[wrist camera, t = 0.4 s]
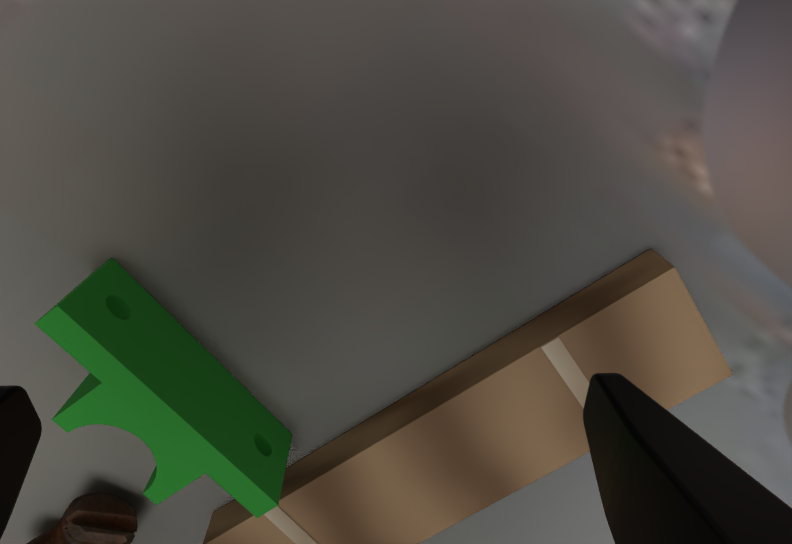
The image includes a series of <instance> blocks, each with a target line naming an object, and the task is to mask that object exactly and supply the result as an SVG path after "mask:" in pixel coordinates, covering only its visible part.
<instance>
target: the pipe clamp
mask: <svg viewBox="0 0 792 544" xmlns="http://www.w3.org/2000/svg"><path fill="white" fill-rule="evenodd" d="M35 325H37V326H38V327H39V328H40V329H41V330H42V331H43V332H45V333H46V334H47V335H48V336H49V337H50V338H51V339H53V340H54V341H55V342H56V343H57V344H58V345H59V346H61V347H62V348H63V349H64V350H65V351H66V352H67V353H69V354H70V355H71V356H72V357H73V358H74V359H75V360H77V361H78V362H79V363H80V364H81V365H82V366H83V367H85V368H86V369H87V370H88V371H89V372H90V374H89V375H88V376H87V377H86V378H85V380H84V381H83V382H82V383H81V385H80V386H79V387H78V388H77V389H76V391H75V392H74V393H73V394H72V396H71V397H70V398H69V399H68V400H67V402H66V403H65V404H64V405H63V407H62V408H61V409H60V410H59V411H58V413H57V414H56V415H55V416H54V418H53V419H52V420H53V421H54V422H55V423H56V424H58V425H59V426H60V427H61V428H63V429H64V430H65V431H66V432H67V433H68V432H70V431H71V430H73V429H75V428H78V427H81V426H85V425H91V424H105V425H111V426H116V427H119V428H122V429H124V430H127V431H129V432H131V433H132V434H134V435H136V436H137V437H139V438H140V439H141V440H142V441H143V442H144V443H145V444H146V445H147V446H148V447H149V448H150V450H151V451H152V453H153V455H154V457H155V461H156V467H155V469H154V471H153V473H152V475H151V477H150V480H149V482H148V484H147V486H146V488H145V490H144V492H143V494H144V495H145V496H146V497H147V498H149V499H150V500H151V501H152V502H154V503H155V504H156V505H157V504H159V503H160V502H162V501H163V500H165V499H166V498H168V497H169V496H171V495H172V494H174V493H176V492H177V491H179V490H180V489H182V488H183V487H185V486H186V485H188V484H189V483H191V482H192V481H194V480H196V479H197V478H199V477H200V476H202V475H203V474H205V473H206V474H207V475H208V476H209V477H210V478H212V479H213V480H214V481H215V482H216V483H217V484H218V485H220V486H221V487H222V488H223V489H224V490H225V491H226V492H228V493H229V494H230V495H231V496H232V497H233V498H234V499H236V500H237V501H238V502H239V503H240V504H241V505H242V506H244V507H245V508H246V509H247V510H248V511H249V512H250V513H252V514H253V515H254V516H255V517H256V518H259V517H260V516H262V515H264V514H265V513H267V512H268V511H270V510H272V509H273V508H275V507H277V506H278V505H279V500H280V495H281V489H282V484H283V479H284V474H285V469H286V464H287V459H288V454H289V448H290V443H291V438H292V433H290V432H289V431H288V430H287V429H286V428H285V427H284V426H283V425H282V424H281V423H280V422H279V421H278V420H277V419H276V418H275V417H274V416H273V415H272V414H271V413H270V412H269V411H268V410H267V409H266V408H265V407H264V406H263V405H262V404H261V403H260V402H259V401H258V400H257V399H256V398H255V397H254V396H253V395H252V394H251V393H250V392H249V391H248V390H247V389H246V388H245V387H244V386H243V385H242V384H241V383H240V382H238V381H237V380H236V379H235V378H234V377H233V376H232V375H231V374H230V373H229V372H228V371H227V370H226V369H225V368H224V367H223V366H222V365H221V364H220V363H219V362H218V361H217V360H216V359H215V358H214V357H213V356H212V355H211V354H210V353H209V352H208V351H207V350H206V349H205V348H204V347H203V346H202V345H201V344H200V343H199V342H198V341H197V340H196V339H195V338H194V337H193V336H192V335H191V334H190V333H189V332H188V331H187V330H185V329H184V328H183V327H182V326H181V325H180V324H179V323H178V322H177V321H176V320H175V319H174V318H173V317H172V316H171V315H170V314H169V313H168V312H167V311H166V310H165V309H164V308H163V307H162V306H161V305H160V304H159V303H158V302H157V301H156V300H155V299H154V298H153V297H152V296H151V295H150V294H149V293H148V292H147V291H146V290H145V289H144V288H143V287H142V286H141V285H140V284H139V283H138V282H137V281H136V280H135V279H134V278H132V277H131V276H130V275H129V274H128V273H127V272H126V271H125V270H124V269H123V268H122V267H121V266H120V265H119V264H118V263H117V262H116V261H115V260H114V259H113V258H111V259H110V260H108V261H107V262H106V263H105V264H103V265H102V266H101V267H99V268H98V269H97V270H96V271H94V272H93V273H92V274H91V275H90V276H89V277H87V278H86V279H85V280H84V281H83V282H82V283H81V284H79V285H78V286H77V287H76V288H75V289H74V290H73V291H71V292H70V293H69V294H68V295H67V296H66V297H65V298H63V299H62V300H61V301H60V302H59V303H58V304H57V305H55V306H54V307H53V308H52V309H51V310H50V311H49V312H47V313H46V314H45V315H44V316H43V317H42V318H41V319H39V320H38V321H37V322H36V323H35Z"/></svg>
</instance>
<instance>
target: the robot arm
mask: <svg viewBox="0 0 792 544" xmlns="http://www.w3.org/2000/svg"><path fill="white" fill-rule="evenodd" d="M583 423H584V428H585V432H586V436H587V441H588V445H589V449H590V453H591V458H592V462H593V466H594V470H595V475H596V479H597V483H598V487H599V491H600V496H601V500H602V504H603V508H604V511H605V515H606V518H607V521H608V524H609V527H610V530H611V533H612V536H613V539H614V541H615V544H792V508H791V507H789V506H788V505H787V504H786V503H784V502H783V501H782V500H781V499H779V498H778V497H777V496H775V495H774V494H773V493H772V492H770V491H769V490H768V489H767V488H765V487H764V486H763V485H761V484H760V483H759V482H758V481H756V480H755V479H754V478H753V477H751V476H750V475H749V474H747V473H746V472H745V471H744V470H742V469H741V468H740V467H739V466H737V465H736V464H735V463H733V462H732V461H731V460H730V459H728V458H727V457H726V456H725V455H723V454H722V453H721V452H720V451H718V450H717V449H716V448H714V447H713V446H712V445H711V444H709V443H708V442H707V441H706V440H704V439H703V438H702V437H700V436H699V435H698V434H697V433H695V432H694V431H693V430H692V429H690V428H689V427H688V426H686V425H685V424H684V423H683V422H681V421H680V420H679V419H678V418H676V417H675V416H674V415H672V414H671V413H670V412H669V411H667V410H666V409H665V408H664V407H662V406H661V405H660V404H658V403H657V402H656V401H655V400H653V399H652V398H651V397H650V396H648V395H647V394H646V393H644V392H643V391H642V390H641V389H639V388H638V387H637V386H636V385H634V384H633V383H632V382H630V381H629V380H628V379H627V378H625V377H624V376H623V375H621V374H619V373H596V374H594V375H592V377H591V379H590V382H589V387H588V391H587V396H586V400H585V404H584V409H583ZM41 431H42V426H41V421H40V419H39V417H38V415H37V413H36V411H35V408H34V406H33V404H32V402H31V400H30V398H29V396H28V394H27V392H26V391H25V389H23V388H22V387H21V386H0V539H1V537H2V535H3V533H4V530H5V528H6V526H7V523H8V521H9V519H10V516H11V514H12V511H13V509H14V506H15V503H16V501H17V498H18V495H19V493H20V490H21V487H22V485H23V482H24V479H25V477H26V474H27V471H28V469H29V466H30V463H31V461H32V458H33V455H34V453H35V450H36V448H37V445H38V442H39V440H40V436H41Z"/></svg>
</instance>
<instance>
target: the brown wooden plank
mask: <svg viewBox="0 0 792 544" xmlns="http://www.w3.org/2000/svg"><path fill="white" fill-rule="evenodd" d="M596 373H619V374H621V375H623V376H624V377H625V378H627V379H628V380H629V381H630V382H632V383H633V384H634V385H636V386H637V387H638V388H639V389H641V390H642V391H643V392H644V393H646V394H647V395H648V396H650V397H651V398H652V399H653V400H655V401H656V402H657V403H658V404H660V405H661V406H662V407H664V408H665V409H666V410H668V409H669V408H671V407H673V406H675V405H677V404H679V403H681V402H682V401H684V400H686V399H688V398H690V397H692V396H694V395H695V394H697V393H699V392H701V391H703V390H705V389H707V388H708V387H710V386H712V385H714V384H716V383H718V382H720V381H721V380H723V379H725V378H727V377H729V376H731V375H733V374H732V372H731V370H730V368H729V366H728V364H727V363H726V361H725V359H724V357H723V355H722V353H721V351H720V350H719V348H718V346H717V344H716V342H715V340H714V338H713V337H712V335H711V333H710V331H709V329H708V327H707V326H706V324H705V322H704V320H703V318H702V316H701V314H700V313H699V311H698V309H697V307H696V305H695V303H694V302H693V300H692V298H691V296H690V294H689V292H688V290H687V289H686V287H685V285H684V283H683V281H682V279H681V277H680V276H679V274H678V272H677V270H676V268H675V267H674V266H673V265H672V264H670V263H669V262H668V261H667V260H665V259H664V258H663V257H662V256H660V255H659V254H658V253H656V252H655V251H654V250H653V249H649V250H648V251H646V252H644V253H643V254H641V255H639V256H638V257H636V258H634V259H633V260H631V261H629V262H628V263H626V264H624V265H623V266H621V267H619V268H618V269H616V270H614V271H613V272H611V273H609V274H608V275H606V276H604V277H603V278H601V279H599V280H598V281H596V282H594V283H593V284H591V285H589V286H588V287H586V288H585V289H583V290H581V291H580V292H578V293H576V294H575V295H573V296H571V297H570V298H568V299H566V300H565V301H563V302H561V303H560V304H558V305H556V306H555V307H553V308H551V309H550V310H548V311H546V312H545V313H543V314H541V315H540V316H538V317H536V318H535V319H533V320H531V321H530V322H528V323H526V324H525V325H523V326H521V327H520V328H518V329H516V330H515V331H513V332H512V333H510V334H508V335H507V336H505V337H503V338H502V339H500V340H498V341H497V342H495V343H493V344H492V345H490V346H488V347H487V348H485V349H483V350H482V351H480V352H478V353H477V354H475V355H473V356H472V357H470V358H468V359H467V360H465V361H463V362H462V363H460V364H458V365H457V366H455V367H453V368H452V369H450V370H448V371H447V372H445V373H444V374H442V375H440V376H439V377H437V378H435V379H434V380H432V381H430V382H429V383H427V384H425V385H424V386H422V387H420V388H419V389H417V390H415V391H414V392H412V393H410V394H409V395H407V396H405V397H404V398H402V399H400V400H399V401H397V402H395V403H394V404H392V405H390V406H389V407H387V408H385V409H384V410H382V411H380V412H379V413H377V414H376V415H374V416H372V417H371V418H369V419H367V420H366V421H364V422H362V423H361V424H359V425H357V426H356V427H354V428H352V429H351V430H349V431H347V432H346V433H344V434H342V435H341V436H339V437H337V438H336V439H334V440H332V441H331V442H329V443H327V444H326V445H324V446H322V447H321V448H319V449H317V450H316V451H314V452H312V453H311V454H309V455H308V456H306V457H304V458H303V459H301V460H299V461H298V462H296V463H294V464H293V465H291V466H289V467H288V468H286V469H285V474H284V479H283V484H282V489H281V495H280V500H279V505H278V506H277V507H275V508H273V509H272V510H270V511H268V512H267V513H265V514H264V515H262V516H260V517H259V518H256V517H255V516H254V515H253V514H252V513H250V512H249V511H248V510H247V509H246V508H245V507H244V506H242V505H241V504H240V503H239V502H238V501H237V500H236V499H235V500H233V501H231V502H230V503H228V504H226V505H225V506H223V507H221V508H220V509H218V510H216V511H215V512H213V514H212V517H211V520H210V523H209V527H208V530H207V533H206V536H205V539H204V542H203V544H418V543H420V542H422V541H424V540H426V539H428V538H430V537H431V536H433V535H435V534H437V533H439V532H441V531H443V530H444V529H446V528H448V527H450V526H452V525H454V524H456V523H457V522H459V521H461V520H463V519H465V518H467V517H469V516H470V515H472V514H474V513H476V512H478V511H480V510H482V509H483V508H485V507H487V506H489V505H491V504H493V503H495V502H496V501H498V500H500V499H502V498H504V497H506V496H508V495H509V494H511V493H513V492H515V491H517V490H519V489H521V488H522V487H524V486H526V485H528V484H530V483H532V482H534V481H536V480H537V479H539V478H541V477H543V476H545V475H547V474H549V473H550V472H552V471H554V470H556V469H558V468H560V467H562V466H563V465H565V464H567V463H569V462H571V461H573V460H575V459H576V458H578V457H580V456H582V455H584V454H586V453H588V452H589V451H590V449H589V445H588V441H587V436H586V432H585V428H584V423H583V409H584V404H585V400H586V396H587V391H588V387H589V382H590V379H591V377H592V375H594V374H596Z"/></svg>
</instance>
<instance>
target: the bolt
mask: <svg viewBox="0 0 792 544" xmlns="http://www.w3.org/2000/svg"><path fill="white" fill-rule="evenodd" d="M136 531H137V519H136V513H135V511H134V510H133V508H132V507H131V506H130V505H128V504H127V503H126V502H124V501H123V500H121V499H120V498H118V497H115V496H113V495H110V494H106V493H91V494H86V495H82V496H80V497H78V498H76V499H75V500H73V501H72V503H71V504H70V505H69V507H68V509H67V510H66V512H65V514H64V515H63V517H62V518H61V520H60V522H59V524H58V525H57V526H56V528H53V529H51V530H49V531H47V532H45V533H43V534H41V535H40V536H38V537H36V538H34V539H33V540H31V541H30V542H28V543H27V544H130V543H131V542H132V540H133V538H134V537H135V535H134V532H136Z"/></svg>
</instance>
